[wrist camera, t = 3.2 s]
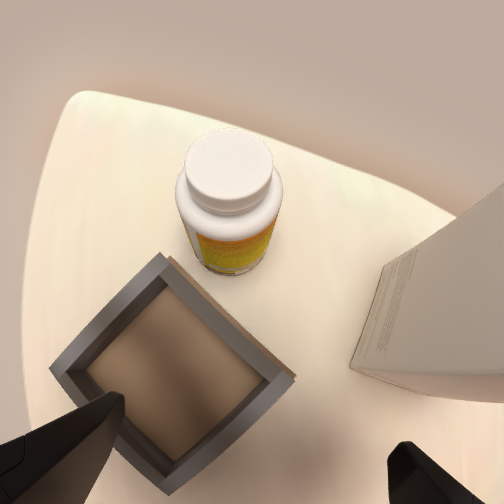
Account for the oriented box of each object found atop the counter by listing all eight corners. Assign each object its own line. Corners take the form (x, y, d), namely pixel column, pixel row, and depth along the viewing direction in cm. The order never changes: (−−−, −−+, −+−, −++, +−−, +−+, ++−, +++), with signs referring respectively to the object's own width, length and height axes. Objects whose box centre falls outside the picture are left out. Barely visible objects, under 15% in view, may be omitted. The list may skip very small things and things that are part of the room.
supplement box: (430, 398, 19) (579, 409, 5) (346, 368, 20) (510, 380, 6) (458, 301, 22) (591, 250, 8) (383, 261, 23) (518, 163, 8)
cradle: (179, 480, 16) (169, 504, 12) (69, 365, 18) (40, 366, 14) (293, 374, 19) (307, 379, 16) (172, 259, 21) (160, 240, 18)
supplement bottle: (282, 246, 22) (317, 170, 13) (224, 292, 21) (217, 245, 11) (235, 194, 23) (238, 100, 14) (178, 235, 22) (143, 155, 12)
